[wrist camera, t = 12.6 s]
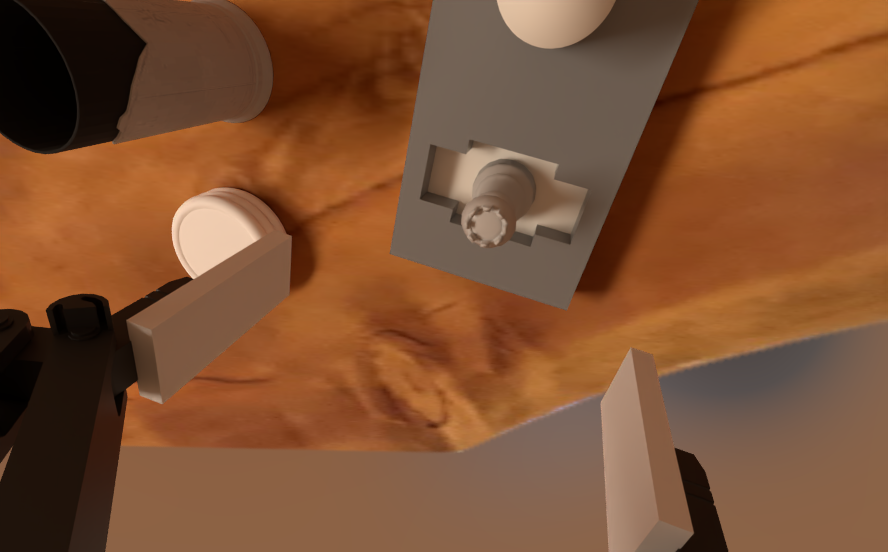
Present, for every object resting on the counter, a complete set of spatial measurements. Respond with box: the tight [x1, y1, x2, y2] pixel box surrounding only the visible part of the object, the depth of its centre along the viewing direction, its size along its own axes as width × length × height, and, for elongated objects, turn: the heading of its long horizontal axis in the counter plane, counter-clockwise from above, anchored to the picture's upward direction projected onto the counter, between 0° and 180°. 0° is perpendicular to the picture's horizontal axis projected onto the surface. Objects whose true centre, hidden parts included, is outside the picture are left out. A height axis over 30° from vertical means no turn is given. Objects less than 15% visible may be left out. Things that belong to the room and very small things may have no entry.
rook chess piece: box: [461, 159, 536, 248], centre depth 29 cm, size 4×4×8 cm
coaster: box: [172, 187, 286, 279], centre depth 40 cm, size 10×10×4 cm
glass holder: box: [0, 0, 273, 154], centre depth 28 cm, size 9×14×15 cm, turn 51°
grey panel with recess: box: [390, 0, 699, 310], centre depth 27 cm, size 14×26×8 cm, turn 168°
